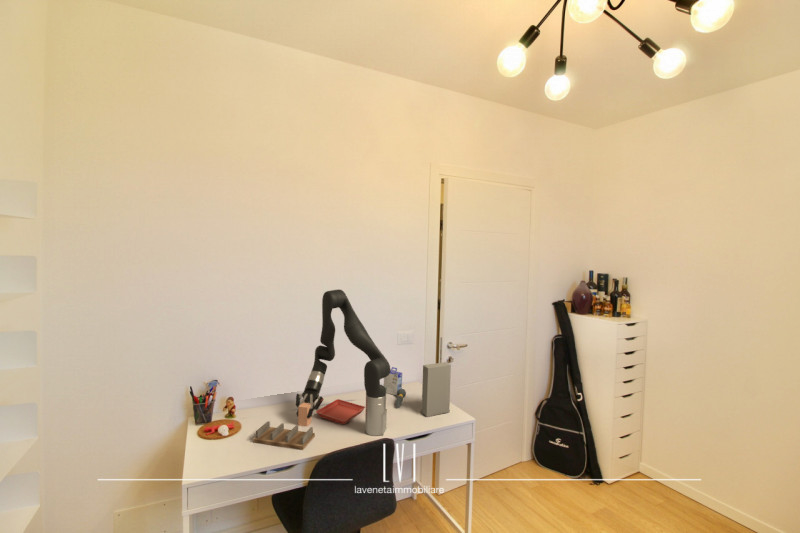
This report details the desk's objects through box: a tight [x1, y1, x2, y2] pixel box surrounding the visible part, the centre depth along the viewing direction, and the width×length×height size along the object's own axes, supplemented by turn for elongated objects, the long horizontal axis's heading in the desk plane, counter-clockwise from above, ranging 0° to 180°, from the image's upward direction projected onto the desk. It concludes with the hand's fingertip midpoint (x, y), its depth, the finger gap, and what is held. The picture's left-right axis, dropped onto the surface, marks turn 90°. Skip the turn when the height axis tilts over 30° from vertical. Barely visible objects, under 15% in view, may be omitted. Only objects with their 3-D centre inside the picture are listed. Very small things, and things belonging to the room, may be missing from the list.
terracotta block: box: [297, 403, 312, 427], centre depth 166 cm, size 4×4×9 cm
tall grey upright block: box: [420, 361, 452, 418], centre depth 182 cm, size 14×6×25 cm, turn 115°
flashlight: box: [395, 388, 407, 408], centre depth 195 cm, size 20×5×5 cm, turn 176°
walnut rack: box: [252, 421, 316, 451], centre depth 152 cm, size 23×11×4 cm, turn 78°
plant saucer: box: [315, 398, 366, 425], centre depth 177 cm, size 18×18×3 cm
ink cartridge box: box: [383, 366, 403, 396], centre depth 206 cm, size 10×6×14 cm, turn 59°
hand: (303, 417), depth 165 cm, fingers closed on terracotta block, 4 cm apart
